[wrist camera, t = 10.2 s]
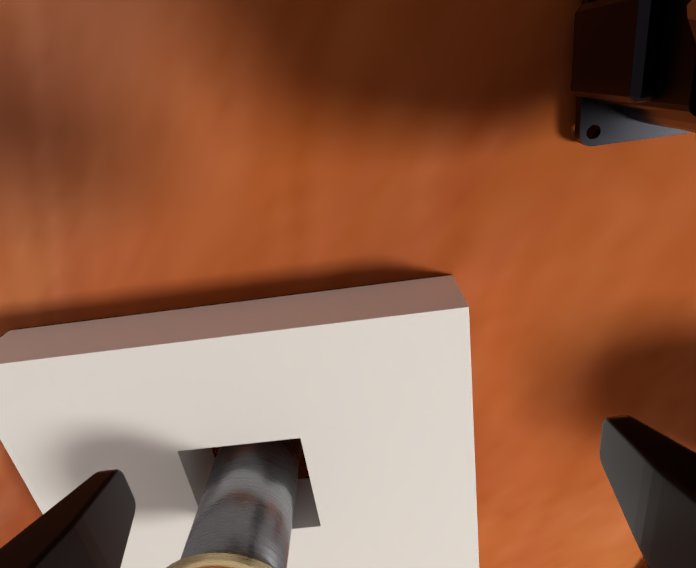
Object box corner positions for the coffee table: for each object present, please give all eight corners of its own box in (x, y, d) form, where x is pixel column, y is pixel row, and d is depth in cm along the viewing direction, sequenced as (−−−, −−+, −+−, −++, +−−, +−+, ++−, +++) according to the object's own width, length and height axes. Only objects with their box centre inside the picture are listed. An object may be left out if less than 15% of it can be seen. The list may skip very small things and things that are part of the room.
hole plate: (452, 274, 20) (468, 306, 18) (466, 532, 27) (479, 585, 24) (9, 330, 22) (-41, 368, 19) (125, 564, 28) (101, 617, 25)
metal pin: (304, 394, 23) (279, 575, 15) (321, 474, 25) (307, 670, 17) (199, 406, 23) (118, 589, 15) (225, 483, 25) (166, 681, 17)
